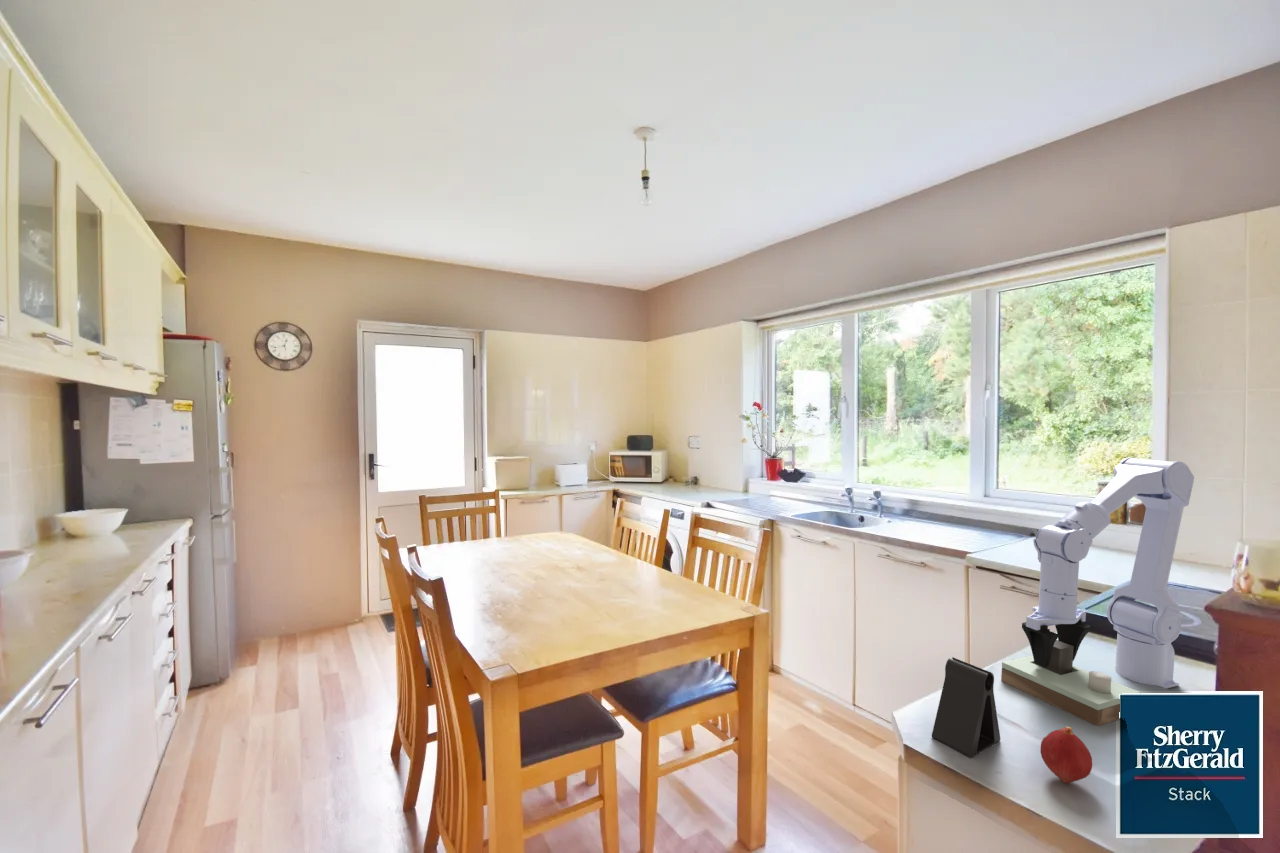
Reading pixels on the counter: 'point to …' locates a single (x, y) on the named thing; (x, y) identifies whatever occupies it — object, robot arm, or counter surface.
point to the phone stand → (967, 709)
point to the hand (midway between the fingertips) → (1054, 661)
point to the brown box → (1061, 700)
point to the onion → (1066, 755)
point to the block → (1061, 658)
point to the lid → (1072, 683)
